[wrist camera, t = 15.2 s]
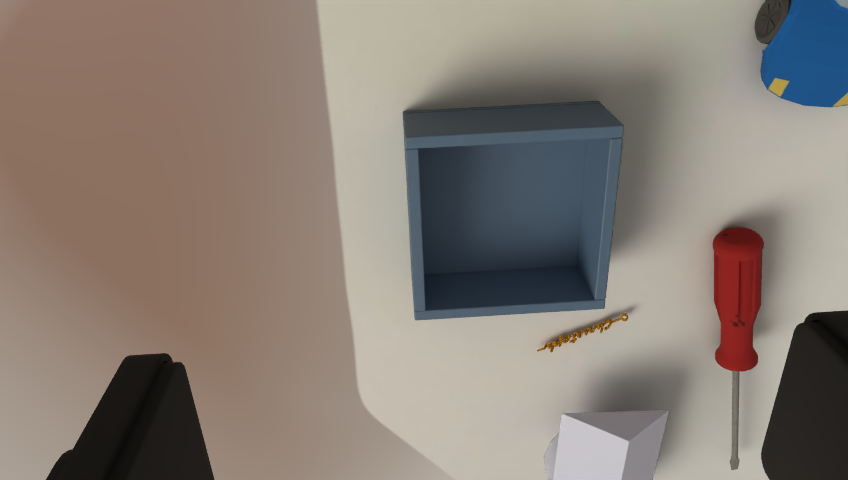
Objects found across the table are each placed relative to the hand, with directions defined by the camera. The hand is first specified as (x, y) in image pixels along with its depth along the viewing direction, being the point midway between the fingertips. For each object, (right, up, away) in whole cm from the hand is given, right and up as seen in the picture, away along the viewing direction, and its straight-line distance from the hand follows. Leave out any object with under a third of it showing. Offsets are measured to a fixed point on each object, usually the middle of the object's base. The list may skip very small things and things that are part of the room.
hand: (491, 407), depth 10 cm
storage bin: (+4, +6, +38) cm, 39 cm away
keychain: (+12, -5, +44) cm, 46 cm away
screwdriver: (+25, -7, +46) cm, 53 cm away
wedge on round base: (+15, -16, +50) cm, 55 cm away
